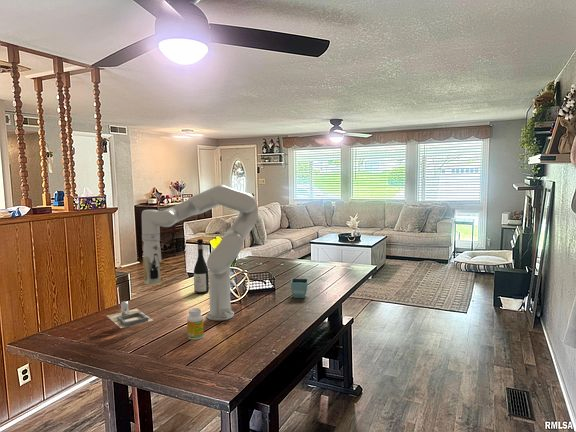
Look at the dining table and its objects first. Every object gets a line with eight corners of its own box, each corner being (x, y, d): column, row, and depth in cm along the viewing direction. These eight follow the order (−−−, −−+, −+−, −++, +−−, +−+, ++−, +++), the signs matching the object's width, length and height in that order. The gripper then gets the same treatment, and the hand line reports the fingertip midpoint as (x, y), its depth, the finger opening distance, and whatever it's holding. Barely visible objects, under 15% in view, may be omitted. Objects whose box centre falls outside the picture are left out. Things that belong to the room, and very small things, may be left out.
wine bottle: (205, 294, 218) (203, 240, 215) (192, 294, 220) (190, 240, 217) (211, 290, 226) (209, 238, 223) (198, 289, 228) (196, 238, 225)
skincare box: (156, 280, 184) (156, 254, 182) (161, 282, 181) (160, 256, 179) (143, 283, 179) (142, 256, 178) (147, 285, 176) (146, 258, 175)
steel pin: (129, 314, 184) (129, 302, 183) (122, 316, 182) (122, 303, 181) (127, 313, 186) (126, 300, 185) (120, 314, 184) (120, 301, 183)
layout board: (153, 323, 177) (153, 316, 177) (120, 331, 168) (120, 324, 167) (137, 311, 192) (136, 305, 192) (106, 318, 183) (106, 312, 183)
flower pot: (308, 294, 217) (308, 278, 216) (307, 299, 209) (307, 282, 208) (292, 294, 218) (292, 278, 217) (290, 299, 209) (290, 282, 209)
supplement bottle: (195, 341, 157) (194, 313, 156) (184, 338, 161) (183, 310, 160) (206, 335, 163) (206, 308, 162) (195, 332, 166) (194, 306, 165)
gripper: (166, 239, 174) (167, 280, 175) (152, 234, 187) (153, 272, 188) (149, 240, 169) (150, 282, 171) (136, 235, 182) (137, 274, 184)
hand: (152, 277), depth 180 cm, fingers closed on skincare box, 4 cm apart
